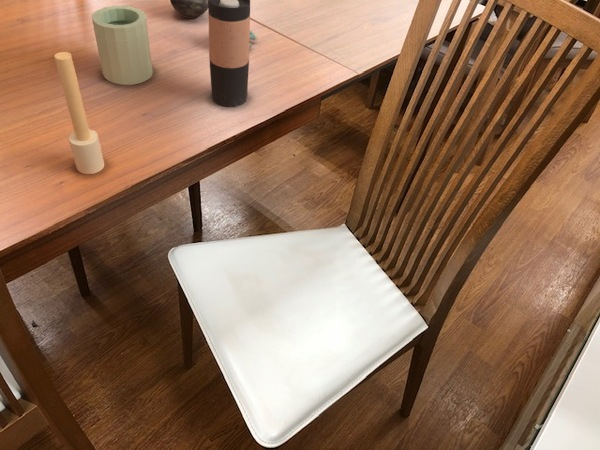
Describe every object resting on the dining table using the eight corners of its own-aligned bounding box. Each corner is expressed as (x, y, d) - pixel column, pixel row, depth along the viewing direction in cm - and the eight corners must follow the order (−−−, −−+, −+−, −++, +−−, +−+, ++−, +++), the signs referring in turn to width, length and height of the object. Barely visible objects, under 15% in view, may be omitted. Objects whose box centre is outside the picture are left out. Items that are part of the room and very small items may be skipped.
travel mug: (203, 93, 104) (199, -6, 90) (234, 84, 108) (234, -13, 94) (224, 111, 100) (223, 11, 86) (255, 100, 104) (259, 3, 90)
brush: (71, 167, 85) (38, 56, 70) (91, 154, 87) (64, 44, 73) (90, 177, 83) (61, 66, 69) (110, 164, 86) (86, 54, 72)
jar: (92, 73, 105) (80, 16, 97) (127, 56, 112) (119, 1, 103) (128, 90, 102) (119, 33, 94) (162, 71, 109) (156, 16, 100)
